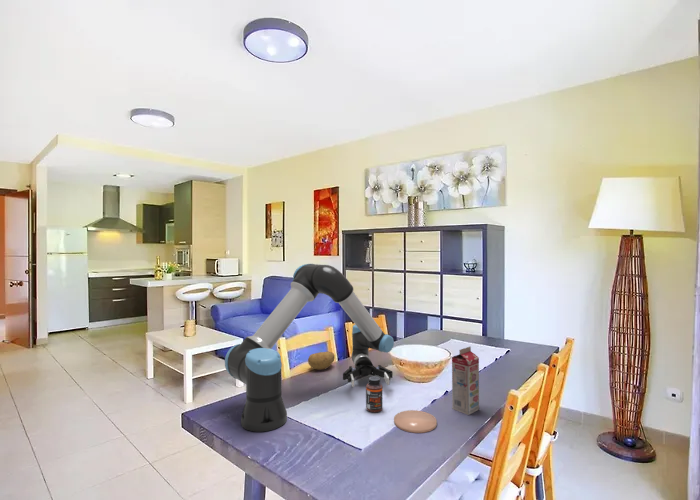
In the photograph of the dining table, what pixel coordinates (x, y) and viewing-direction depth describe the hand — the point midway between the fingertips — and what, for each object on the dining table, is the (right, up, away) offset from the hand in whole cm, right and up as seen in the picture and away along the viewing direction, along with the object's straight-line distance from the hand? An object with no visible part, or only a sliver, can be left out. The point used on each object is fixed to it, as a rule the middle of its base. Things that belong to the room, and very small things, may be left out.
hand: (370, 382), depth 145 cm
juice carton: (+33, -6, -10) cm, 35 cm away
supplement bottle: (+1, -7, -9) cm, 11 cm away
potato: (-21, -6, +36) cm, 43 cm away
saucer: (+14, -7, -19) cm, 24 cm away
